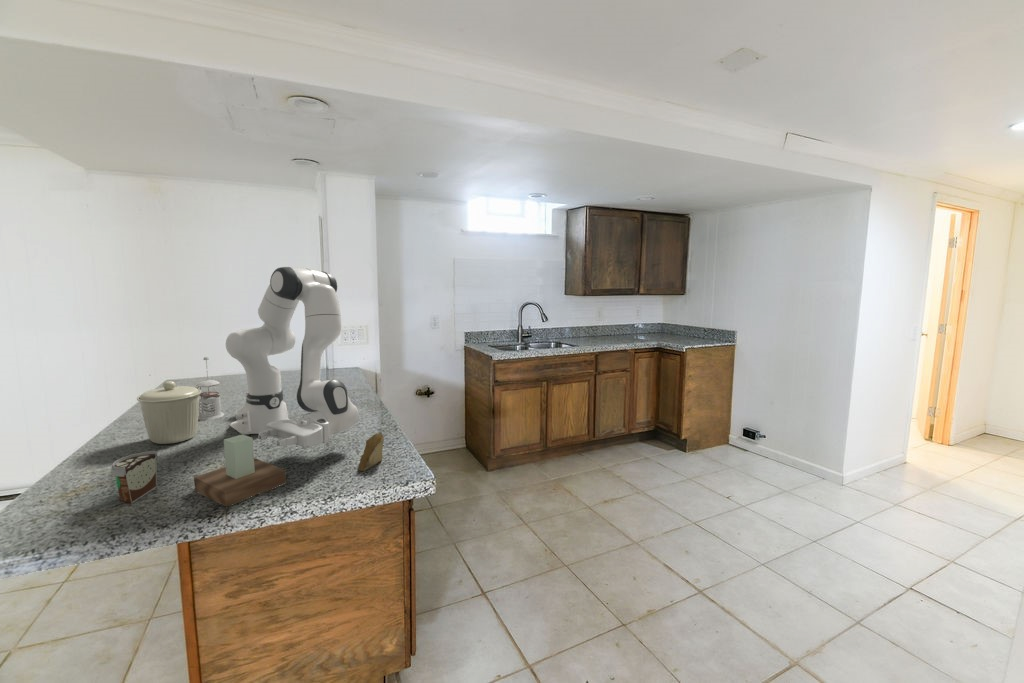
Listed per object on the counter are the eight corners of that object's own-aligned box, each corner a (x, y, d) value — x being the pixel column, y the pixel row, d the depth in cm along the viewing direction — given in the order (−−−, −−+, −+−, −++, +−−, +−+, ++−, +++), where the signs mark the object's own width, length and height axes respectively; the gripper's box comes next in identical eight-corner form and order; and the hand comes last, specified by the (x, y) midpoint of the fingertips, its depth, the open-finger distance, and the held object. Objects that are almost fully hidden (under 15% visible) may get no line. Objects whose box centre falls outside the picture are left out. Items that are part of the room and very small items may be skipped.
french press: (214, 420, 181) (209, 359, 178) (185, 419, 182) (180, 358, 178) (229, 412, 191) (225, 355, 188) (202, 412, 191) (198, 354, 188)
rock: (364, 468, 133) (393, 455, 140) (352, 443, 135) (381, 430, 142) (353, 479, 140) (381, 465, 147) (342, 454, 142) (370, 442, 149)
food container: (137, 484, 125) (133, 450, 123) (160, 484, 125) (157, 450, 124) (100, 507, 113) (96, 469, 111) (127, 506, 113) (123, 468, 112)
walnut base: (195, 491, 122) (193, 477, 121) (254, 470, 135) (253, 457, 135) (226, 507, 114) (225, 492, 113) (285, 483, 127) (285, 470, 127)
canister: (169, 430, 169) (164, 375, 166) (216, 431, 168) (212, 376, 165) (126, 447, 151) (120, 386, 148) (179, 449, 150) (174, 388, 148)
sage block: (226, 474, 123) (223, 439, 122) (244, 468, 127) (242, 434, 126) (236, 479, 121) (233, 443, 119) (254, 472, 125) (252, 437, 123)
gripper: (291, 412, 147) (248, 423, 135) (332, 423, 136) (289, 436, 125) (292, 430, 148) (249, 443, 136) (332, 443, 137) (290, 458, 126)
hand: (268, 440), depth 130 cm, fingers open, 8 cm apart
